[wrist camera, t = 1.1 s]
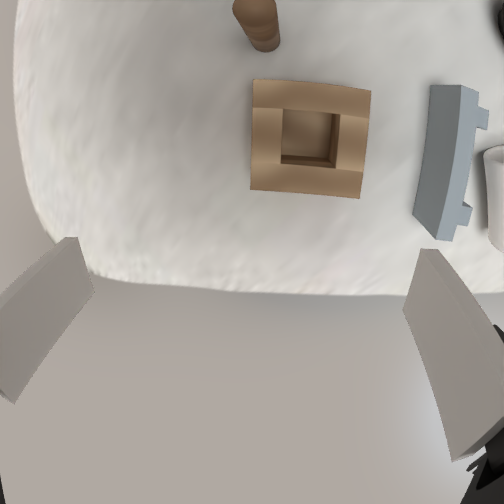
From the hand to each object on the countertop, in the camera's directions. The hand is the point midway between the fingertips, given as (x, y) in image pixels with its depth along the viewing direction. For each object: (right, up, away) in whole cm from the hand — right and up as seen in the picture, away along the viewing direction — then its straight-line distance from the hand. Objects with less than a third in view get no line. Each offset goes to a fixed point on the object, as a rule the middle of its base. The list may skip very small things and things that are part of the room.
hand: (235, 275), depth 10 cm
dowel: (+2, +20, +11) cm, 23 cm away
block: (+6, +12, +15) cm, 20 cm away
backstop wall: (+20, +11, +14) cm, 27 cm away
